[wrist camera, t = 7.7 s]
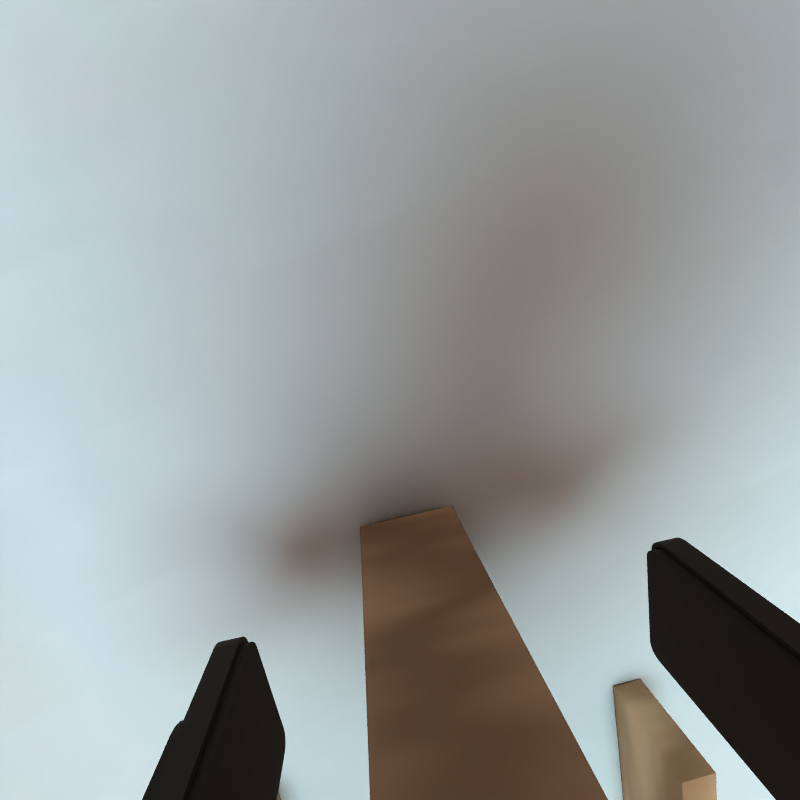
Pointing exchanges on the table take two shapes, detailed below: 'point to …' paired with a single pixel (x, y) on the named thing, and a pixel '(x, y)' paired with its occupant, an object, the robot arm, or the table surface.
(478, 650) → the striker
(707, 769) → the lane
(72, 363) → the table surface
